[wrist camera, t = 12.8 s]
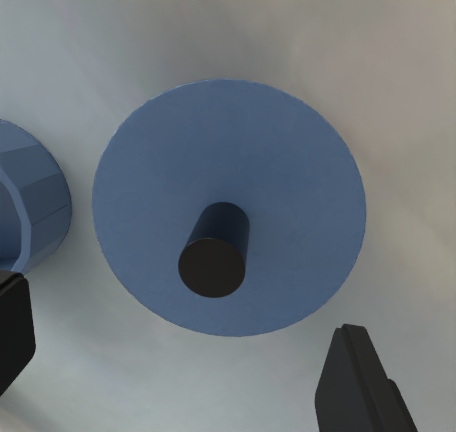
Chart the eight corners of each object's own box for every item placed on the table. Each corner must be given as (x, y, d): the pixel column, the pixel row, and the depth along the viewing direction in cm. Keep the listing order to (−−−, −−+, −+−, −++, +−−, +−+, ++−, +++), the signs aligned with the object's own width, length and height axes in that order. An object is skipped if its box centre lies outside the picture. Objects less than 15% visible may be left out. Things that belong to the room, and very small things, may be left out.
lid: (133, 330, 24) (92, 405, 18) (69, 101, 19) (-17, 106, 13) (360, 319, 22) (395, 401, 16) (360, 57, 17) (411, 40, 11)
